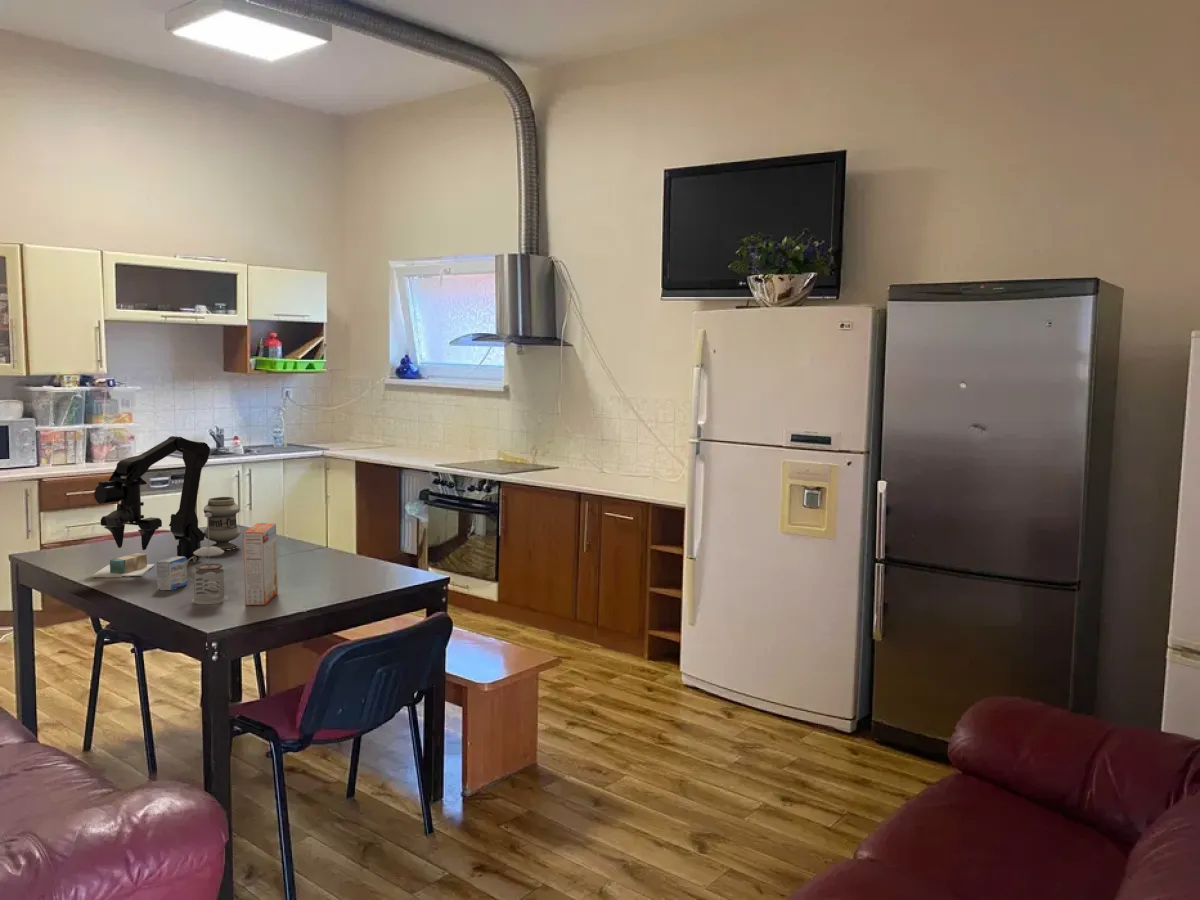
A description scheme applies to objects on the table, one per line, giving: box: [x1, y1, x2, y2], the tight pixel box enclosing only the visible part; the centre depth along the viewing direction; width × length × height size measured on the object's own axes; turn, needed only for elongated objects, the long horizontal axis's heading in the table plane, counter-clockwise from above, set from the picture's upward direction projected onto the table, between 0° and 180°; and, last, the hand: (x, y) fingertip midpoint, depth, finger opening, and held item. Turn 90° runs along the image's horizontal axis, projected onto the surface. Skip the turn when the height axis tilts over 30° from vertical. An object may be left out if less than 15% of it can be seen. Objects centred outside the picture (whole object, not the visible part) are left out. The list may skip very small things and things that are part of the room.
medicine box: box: [156, 555, 188, 591], centre depth 278 cm, size 8×4×9 cm, turn 168°
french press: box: [184, 512, 229, 605], centre depth 264 cm, size 10×12×25 cm
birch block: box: [109, 552, 148, 574], centre depth 296 cm, size 4×4×11 cm
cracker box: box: [242, 522, 279, 607], centre depth 266 cm, size 14×6×21 cm, turn 5°
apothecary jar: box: [203, 496, 242, 550], centre depth 333 cm, size 12×12×18 cm
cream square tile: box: [91, 563, 156, 579], centre depth 296 cm, size 14×15×1 cm
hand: (131, 548), depth 297 cm, fingers open, 9 cm apart
